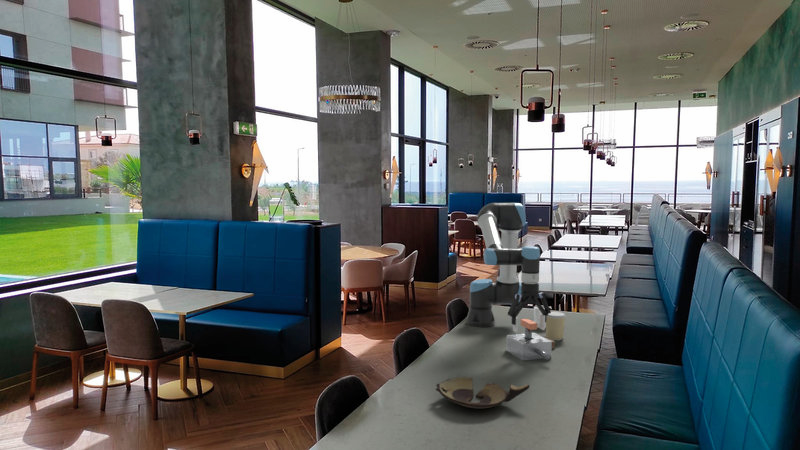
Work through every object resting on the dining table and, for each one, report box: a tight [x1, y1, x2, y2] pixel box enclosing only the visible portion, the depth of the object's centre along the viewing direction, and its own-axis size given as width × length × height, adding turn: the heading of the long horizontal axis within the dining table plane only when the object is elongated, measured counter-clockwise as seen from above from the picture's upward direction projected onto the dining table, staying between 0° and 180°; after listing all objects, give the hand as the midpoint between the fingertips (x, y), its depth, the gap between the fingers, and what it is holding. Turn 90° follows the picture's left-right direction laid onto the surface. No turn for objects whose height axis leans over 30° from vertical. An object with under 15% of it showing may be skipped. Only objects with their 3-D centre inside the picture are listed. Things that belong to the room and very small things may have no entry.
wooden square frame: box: [543, 336, 556, 349], centre depth 246 cm, size 8×8×3 cm
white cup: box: [533, 305, 546, 329], centre depth 280 cm, size 8×8×10 cm
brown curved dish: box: [435, 376, 530, 410], centre depth 181 cm, size 22×30×8 cm
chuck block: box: [505, 332, 553, 362], centre depth 231 cm, size 23×14×7 cm, turn 17°
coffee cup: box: [545, 310, 566, 341], centre depth 259 cm, size 9×9×12 cm
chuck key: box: [520, 318, 538, 340], centre depth 234 cm, size 3×8×12 cm, turn 17°
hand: (528, 330), depth 234 cm, fingers open, 13 cm apart
